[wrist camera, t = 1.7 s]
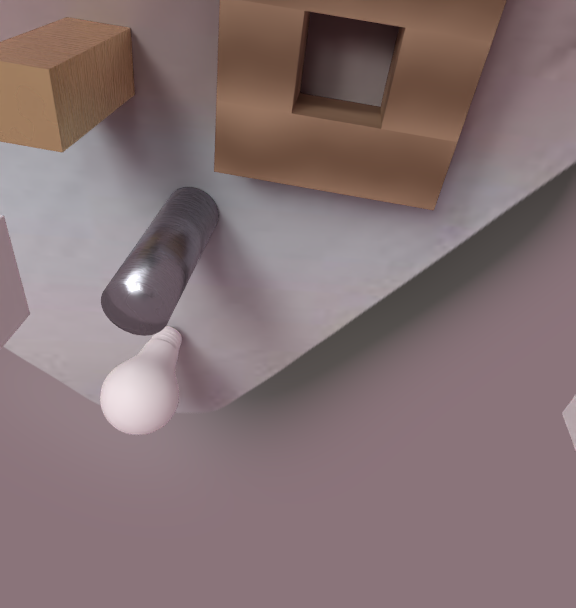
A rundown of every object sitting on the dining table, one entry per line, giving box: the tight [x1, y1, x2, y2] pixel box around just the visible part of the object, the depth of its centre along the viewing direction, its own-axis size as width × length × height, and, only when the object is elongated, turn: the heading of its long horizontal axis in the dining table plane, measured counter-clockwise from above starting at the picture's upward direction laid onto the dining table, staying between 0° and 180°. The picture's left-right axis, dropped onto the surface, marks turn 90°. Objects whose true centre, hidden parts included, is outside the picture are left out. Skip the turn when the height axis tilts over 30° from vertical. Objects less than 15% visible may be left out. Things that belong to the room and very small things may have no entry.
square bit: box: [0, 17, 135, 152], centre depth 28 cm, size 4×4×10 cm
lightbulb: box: [100, 326, 182, 435], centre depth 42 cm, size 6×6×11 cm
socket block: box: [214, 0, 507, 210], centre depth 29 cm, size 14×14×4 cm
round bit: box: [101, 187, 219, 335], centre depth 34 cm, size 4×4×12 cm
